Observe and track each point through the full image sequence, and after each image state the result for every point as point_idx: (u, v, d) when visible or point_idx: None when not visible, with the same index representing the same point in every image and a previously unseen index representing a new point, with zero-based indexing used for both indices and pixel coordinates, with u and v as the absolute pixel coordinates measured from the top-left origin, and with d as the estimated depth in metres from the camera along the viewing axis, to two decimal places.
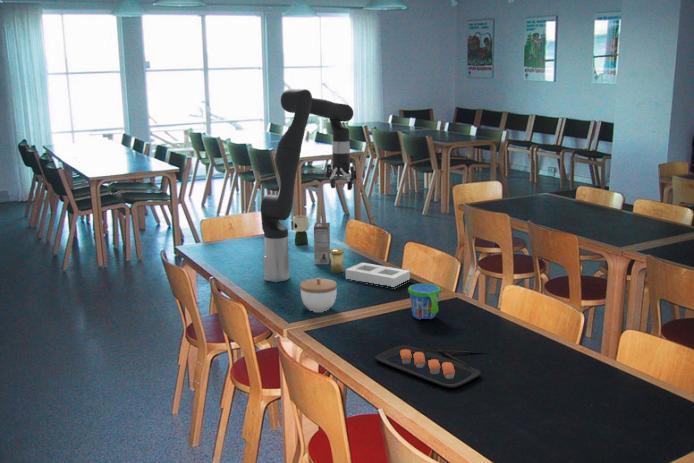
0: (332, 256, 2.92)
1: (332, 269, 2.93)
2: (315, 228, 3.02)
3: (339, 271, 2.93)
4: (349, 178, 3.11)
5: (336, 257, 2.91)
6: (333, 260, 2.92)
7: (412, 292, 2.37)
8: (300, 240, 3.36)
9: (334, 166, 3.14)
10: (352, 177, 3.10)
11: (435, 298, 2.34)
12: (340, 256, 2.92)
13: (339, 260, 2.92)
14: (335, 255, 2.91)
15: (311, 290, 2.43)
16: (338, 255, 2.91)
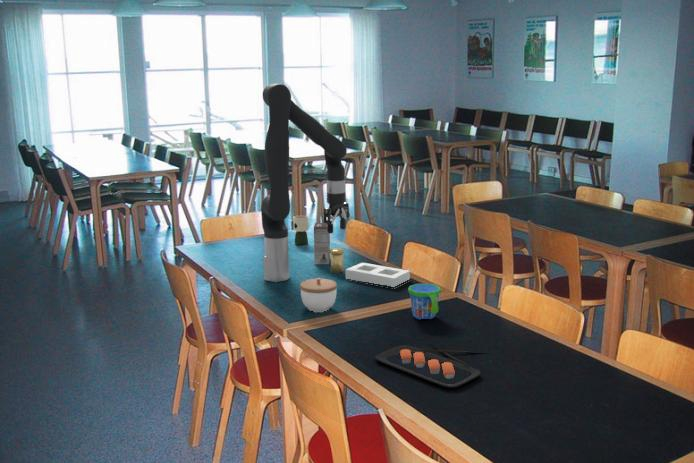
0: (332, 256, 2.92)
1: (332, 269, 2.93)
2: (315, 228, 3.02)
3: (339, 271, 2.93)
4: (345, 216, 2.93)
5: (336, 257, 2.91)
6: (333, 260, 2.92)
7: (412, 292, 2.37)
8: (300, 240, 3.36)
9: (334, 208, 2.86)
10: (348, 214, 2.95)
11: (435, 298, 2.34)
12: (340, 256, 2.92)
13: (339, 260, 2.92)
14: (335, 255, 2.91)
15: (311, 290, 2.43)
16: (338, 255, 2.91)
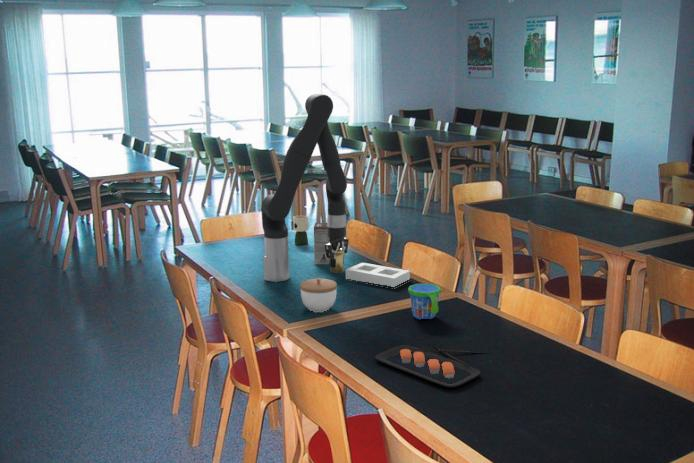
0: None
1: (332, 269, 2.93)
2: (315, 228, 3.02)
3: (339, 271, 2.93)
4: (344, 252, 2.96)
5: (336, 257, 2.91)
6: None
7: (412, 292, 2.37)
8: (300, 240, 3.36)
9: (334, 243, 2.89)
10: (346, 250, 2.97)
11: (435, 298, 2.34)
12: (340, 256, 2.92)
13: (339, 260, 2.92)
14: None
15: (311, 290, 2.43)
16: (338, 255, 2.91)
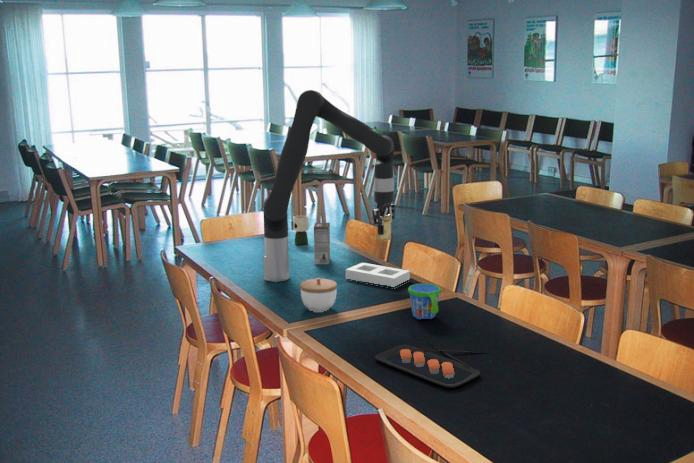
0: None
1: (379, 236, 2.77)
2: (315, 228, 3.02)
3: (387, 238, 2.76)
4: None
5: (384, 223, 2.75)
6: None
7: (412, 292, 2.37)
8: (300, 240, 3.36)
9: (382, 209, 2.73)
10: (393, 216, 2.81)
11: (435, 298, 2.34)
12: (388, 222, 2.75)
13: (387, 226, 2.75)
14: None
15: (311, 290, 2.43)
16: (386, 221, 2.75)
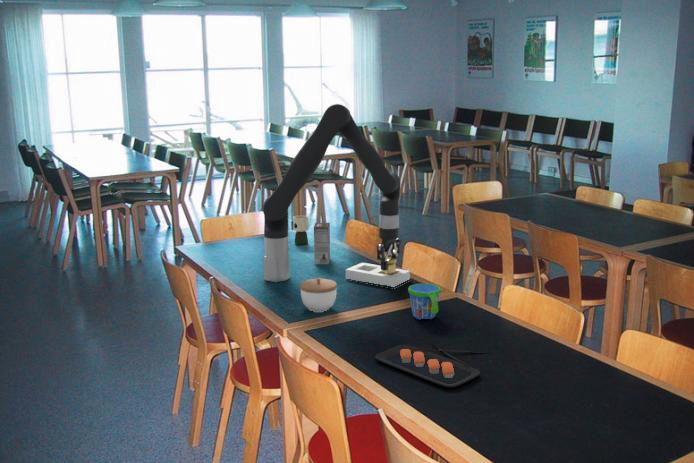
0: None
1: None
2: (315, 228, 3.02)
3: None
4: (396, 252, 2.81)
5: (389, 267, 2.77)
6: (385, 270, 2.78)
7: (412, 292, 2.37)
8: (300, 240, 3.36)
9: (387, 244, 2.74)
10: (399, 250, 2.82)
11: (435, 298, 2.34)
12: (393, 266, 2.77)
13: (392, 270, 2.78)
14: (388, 265, 2.77)
15: (311, 290, 2.43)
16: (391, 265, 2.77)
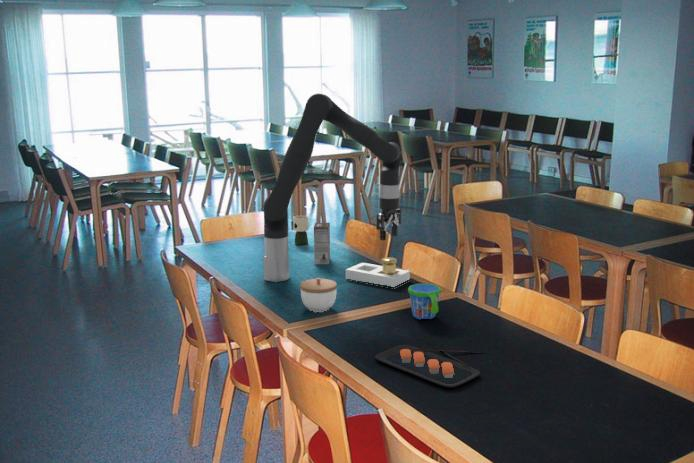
0: (384, 266, 2.78)
1: None
2: (315, 228, 3.02)
3: None
4: (398, 222, 2.79)
5: (389, 267, 2.77)
6: (385, 270, 2.78)
7: (412, 292, 2.37)
8: (300, 240, 3.36)
9: (388, 214, 2.71)
10: (400, 220, 2.80)
11: (435, 298, 2.34)
12: (393, 266, 2.77)
13: (392, 270, 2.78)
14: (388, 265, 2.77)
15: (311, 290, 2.43)
16: (391, 265, 2.77)
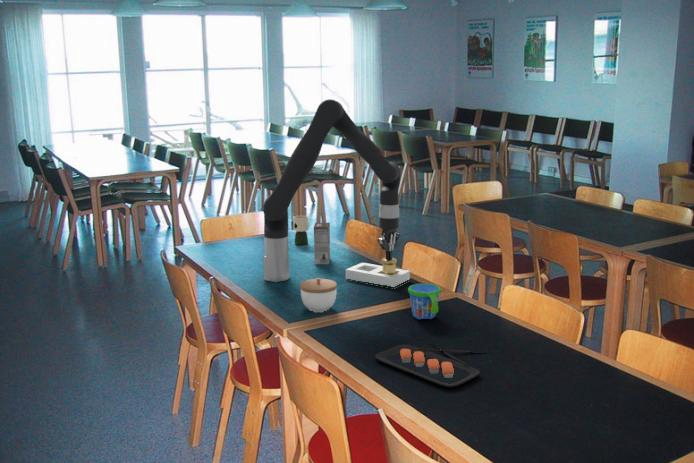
0: (384, 266, 2.78)
1: None
2: (315, 228, 3.02)
3: None
4: (392, 246, 2.78)
5: (389, 267, 2.77)
6: (385, 270, 2.78)
7: (412, 292, 2.37)
8: (300, 240, 3.36)
9: (387, 237, 2.73)
10: (395, 244, 2.79)
11: (435, 298, 2.34)
12: (393, 266, 2.77)
13: (392, 270, 2.78)
14: (388, 265, 2.77)
15: (311, 290, 2.43)
16: (391, 265, 2.77)
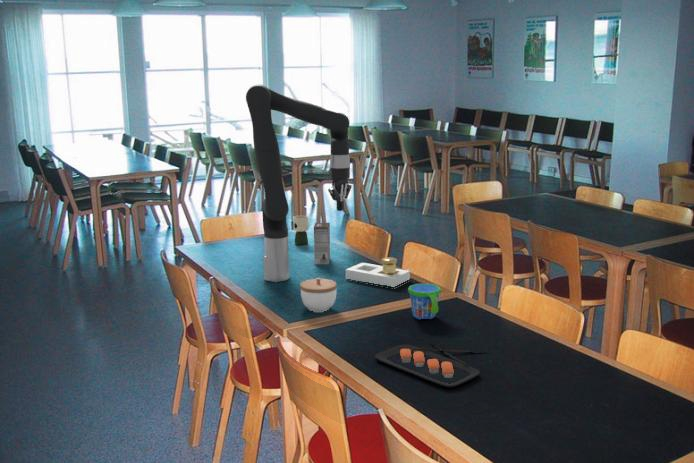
0: (384, 266, 2.78)
1: None
2: (315, 228, 3.02)
3: None
4: (344, 197, 2.80)
5: (389, 267, 2.77)
6: (385, 270, 2.78)
7: (412, 292, 2.37)
8: (300, 240, 3.36)
9: (338, 187, 2.76)
10: (347, 195, 2.81)
11: (435, 298, 2.34)
12: (393, 266, 2.77)
13: (392, 270, 2.78)
14: (388, 265, 2.77)
15: (311, 290, 2.43)
16: (391, 265, 2.77)
